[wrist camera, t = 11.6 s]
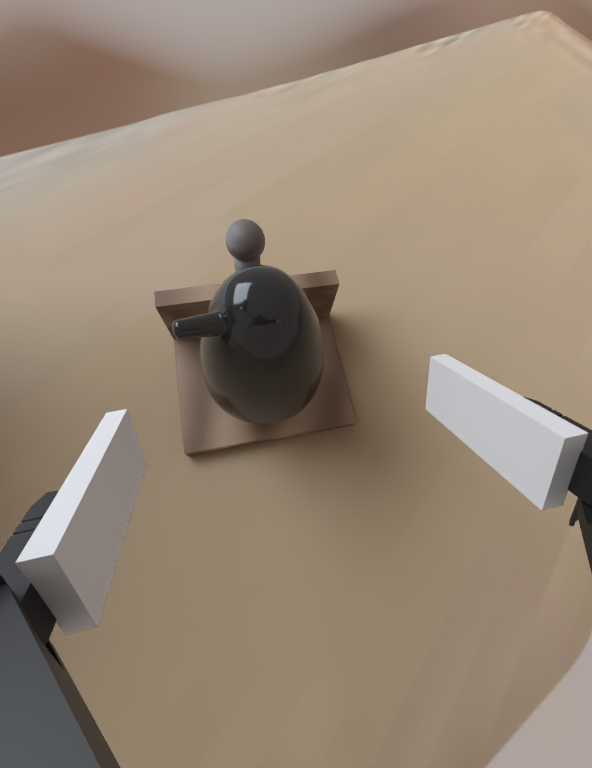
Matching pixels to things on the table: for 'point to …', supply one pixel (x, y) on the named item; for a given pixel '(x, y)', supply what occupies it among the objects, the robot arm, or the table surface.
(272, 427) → the stand
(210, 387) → the pump dispenser
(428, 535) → the table surface
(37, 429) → the table surface
